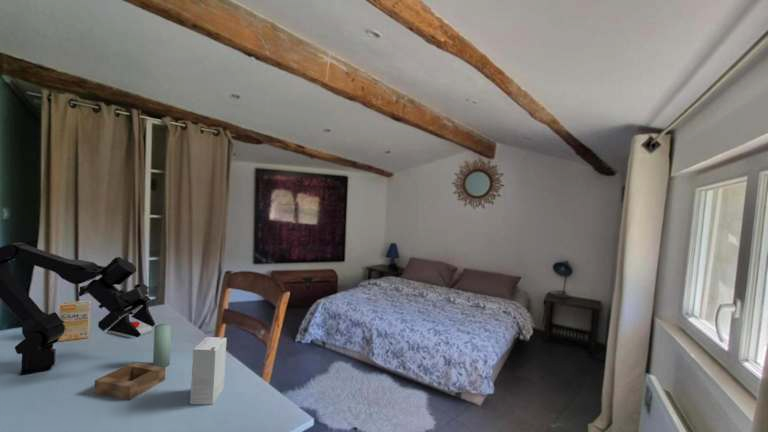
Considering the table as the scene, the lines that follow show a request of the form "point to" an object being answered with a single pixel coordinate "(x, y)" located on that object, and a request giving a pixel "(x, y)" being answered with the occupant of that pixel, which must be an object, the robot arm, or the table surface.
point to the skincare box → (208, 370)
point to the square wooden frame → (125, 389)
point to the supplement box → (75, 319)
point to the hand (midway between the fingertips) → (147, 330)
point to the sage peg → (162, 345)
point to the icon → (139, 326)
